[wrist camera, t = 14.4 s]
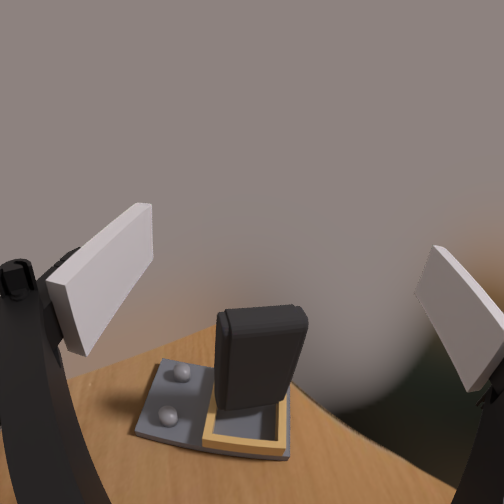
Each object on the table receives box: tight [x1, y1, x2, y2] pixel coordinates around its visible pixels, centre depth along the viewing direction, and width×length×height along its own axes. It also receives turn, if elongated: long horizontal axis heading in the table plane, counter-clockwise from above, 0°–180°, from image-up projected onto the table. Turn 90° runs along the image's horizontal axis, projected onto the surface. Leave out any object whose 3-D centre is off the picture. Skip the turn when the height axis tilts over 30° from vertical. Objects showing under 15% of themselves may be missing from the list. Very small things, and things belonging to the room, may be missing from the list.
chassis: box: [135, 358, 290, 461], centre depth 37 cm, size 20×14×4 cm
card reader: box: [214, 304, 308, 411], centre depth 33 cm, size 9×4×15 cm, turn 105°
